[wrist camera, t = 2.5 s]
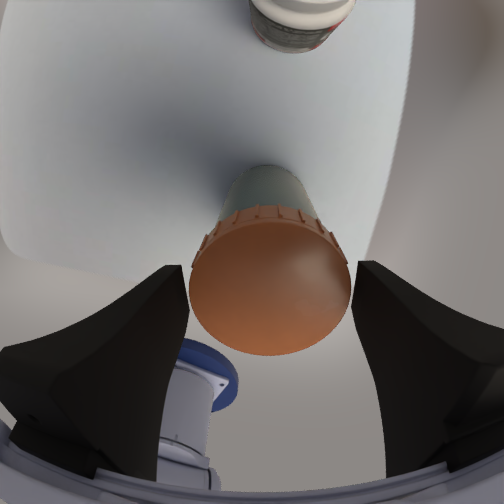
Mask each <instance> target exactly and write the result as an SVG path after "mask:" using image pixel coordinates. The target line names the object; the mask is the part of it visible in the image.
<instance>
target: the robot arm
mask: <svg viewBox="0 0 504 504" xmlns="http://www.w3.org/2000/svg"><path fill="white" fill-rule="evenodd" d="M351 309H352V313H353V318H354V322H355V327H356V330H357V333H358V336H359V339H360V341H361V344H362V347H363V350H364V352H365V355H366V358H367V361H368V364H369V366H370V369H371V372H372V375H373V378H374V381H375V385H376V390H377V395H378V400H379V405H380V411H381V418H382V425H383V433H384V443H385V456H386V479H381V480H377V481H372V482H367V483H361V484H356V485H350V486H343V487H336V488H328V489H318V490H307V491H292V492H233V491H232V492H231V491H221V481H220V478H219V476H218V475H217V472H216V470H215V469H213V468H210V467H209V460H210V459H209V458H208V457H204V456H205V449H206V443H207V436H208V429H209V423H210V416H211V409H212V403H213V401H214V400H215V399H216V398H217V397H218V396H219V394H220V393H221V392H222V391H223V390H224V388H225V387H226V386H227V385H228V383H229V379H228V378H226V377H224V376H221V375H218V374H215V373H213V372H210V371H207V370H205V369H202V368H200V367H197V366H195V365H192V364H190V363H187V362H185V361H182V360H180V359H177V357H178V354H179V351H180V348H181V345H182V342H183V339H184V336H185V333H186V328H187V323H188V317H189V311H190V309H189V304H188V299H187V294H186V288H185V283H184V277H183V272H182V266H181V265H165V266H163V267H162V268H160V269H159V270H157V271H156V272H154V273H153V274H152V275H150V276H149V277H148V278H146V279H145V280H144V281H142V282H141V283H140V284H138V285H137V286H135V287H134V288H133V289H131V290H130V291H129V292H127V293H126V294H124V295H123V296H121V297H120V298H118V299H117V300H115V301H114V302H113V303H111V304H110V305H108V306H106V307H105V308H103V309H101V310H100V311H98V312H97V313H95V314H93V315H91V316H89V317H87V318H85V319H83V320H81V321H79V322H77V323H75V324H73V325H71V326H69V327H66V328H64V329H62V330H60V331H57V332H54V333H52V334H49V335H46V336H43V337H41V338H37V339H34V340H31V341H27V342H23V343H20V344H15V345H11V346H7V347H4V348H3V349H2V350H1V352H0V402H1V403H2V404H3V405H4V406H5V408H6V409H7V410H8V411H9V412H10V413H11V414H12V416H13V417H14V418H15V419H16V420H17V422H16V424H15V426H14V428H13V430H11V429H10V428H9V427H8V426H7V425H6V424H5V423H4V422H3V421H2V420H1V419H0V498H1V499H3V500H4V501H5V502H6V503H8V504H504V329H502V328H499V327H496V326H492V325H489V324H486V323H484V322H481V321H478V320H476V319H473V318H471V317H469V316H466V315H464V314H462V313H459V312H457V311H455V310H453V309H451V308H449V307H447V306H446V305H444V304H442V303H440V302H438V301H436V300H435V299H433V298H431V297H430V296H428V295H426V294H425V293H423V292H421V291H420V290H418V289H417V288H415V287H414V286H412V285H411V284H409V283H408V282H406V281H405V280H403V279H402V278H400V277H399V276H397V275H396V274H395V273H393V272H392V271H390V270H388V269H387V268H386V267H384V266H383V265H381V264H379V263H378V262H376V261H374V260H373V261H358V266H357V273H356V280H355V286H354V293H353V299H352V304H351Z"/></svg>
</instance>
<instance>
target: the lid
mask: <svg viewBox="0 0 504 504" xmlns="http://www.w3.org/2000/svg"><path fill="white" fill-rule="evenodd" d="M338 247H339V248H338ZM199 250H200V251H197V254H196V256H195V259H194V261H193V263H192V266H191V268H193V270H192V272H191V276H190V281H189V297H190V302H191V306H192V309H193V311H194V314H195V316H196V317H197V319H198V320H199V322H200V324H201V325H202V326H203V327H204V329H205V330H206V331H207V332H208V333H209V334H210V335H211V336H213V337H214V338H215V339H217V340H218V341H219V342H221V343H223V344H224V345H226V346H228V347H230V348H233V349H235V350H238V351H241V352H244V353H249V354H254V355H262V356H275V355H284V354H289V353H293V352H297V351H300V350H303V349H305V348H308V347H310V346H312V345H314V344H316V343H317V342H318V341H320V340H322V339H323V338H325V337H326V336H327V335H328V334H329V333H330V332H331V331H332V330H333V329H334V328H335V327H336V326H337V325H338V323H339V322H340V321H341V319H342V317H343V316H344V314H345V312H346V309H347V307H348V304H349V300H350V295H351V278H350V274H349V270H348V267H347V265H346V264H348V262H347V260H346V258H345V256H344V254H343V252H342V250H341V248H340V246H339V244H338V242H337V240H336V238H335V237H334V235H333V233H332V232H329V231H328V230H327V229H326V228H325V227H324V226H323V225H322V224H321V222H320V220H319V219H318V218H317V219H314V218H313V217H311V216H310V215H308V214H306V213H304V212H302V209H300V208H299V209H298V210H296V209H293V208H290V207H284V206H281V204H278V205H277V206H276V205H265V206H259V204H256V207H251V208H247V209H244V210H241V211H238V210H236V211H235V213H234V214H233V215H231V216H229V217H227V218H226V219H224V220H223V221H220V220H219V221H218V222H217V225H216V227H215V228H214V229H213V230H212V231H211V232H210V234H209V235H207V234H206V235H205V237H204V239H203V242H202V244H201V246H200V249H199Z"/></svg>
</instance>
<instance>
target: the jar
mask: <svg viewBox="0 0 504 504" xmlns="http://www.w3.org/2000/svg"><path fill="white" fill-rule="evenodd" d="M256 204H259V206H265V205H276V206H277V205H278V204H281V206H284V207H290V208H293V209H296V210H298V209H299V208H300V209H302V212H304V213H306V214H308V215H310V216H311V217H313V218H314V219H317V218H318V216H317V214H316V212H315V210H314V207H313V205H312V203H311V201H310V199H309V197H308V195H307V193H306V191H305V189H304V187H303V185H302V184H301V182H300V181H299V180H298V179H297V177H296V176H294V175H293V174H292V173H291V172H289V171H287V170H285V169H283V168H280V167H277V166H270V165H264V166H258V167H254V168H251V169H249V170H247V171H245V172H244V173H242V174H241V175H240V176H239V177H238V178H237V179H236V180H235V181H234V183H233V184H232V186H231V188H230V190H229V193H228V195H227V198H226V200H225V203H224V205H223V208H222V210H221V213H220V215H219V218H218V220H217V222H218V221H219V220H220V221H223V220H224V219H226V218H227V217H229V216H231V215H233V214H234V213H235V211H236V210H238V211H241V210H244V209H247V208H251V207H256ZM318 219H319V218H318ZM216 225H217V223H216ZM216 225H215V227H216Z"/></svg>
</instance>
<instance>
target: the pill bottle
mask: <svg viewBox="0 0 504 504" xmlns="http://www.w3.org/2000/svg"><path fill="white" fill-rule="evenodd" d="M355 1H356V0H249V5H250V12H251V21H252V25H253V28H254V30H255V32H256V34H257V35H258V37H259V38H260V39H261V40H262V41H263V42H264V43H265V44H267V45H268V46H270V47H272V48H274V49H276V50H279V51H282V52H286V53H303V52H307V51H310V50H313V49H315V48H316V47H318V46H319V45H321V44H322V43H323V42H324V41H325V40H326V39H327V38H328V36H329V35H330V34H331V33H332V32H333V31H334V30H335V29H336V28H337V27H338V26H339V24H340V23H341V22H342V21H343V20H344V19H345V18H346V17H347V16H348V15H349V13H350V12H351V11H352V9H353V7H354V5H355Z"/></svg>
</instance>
